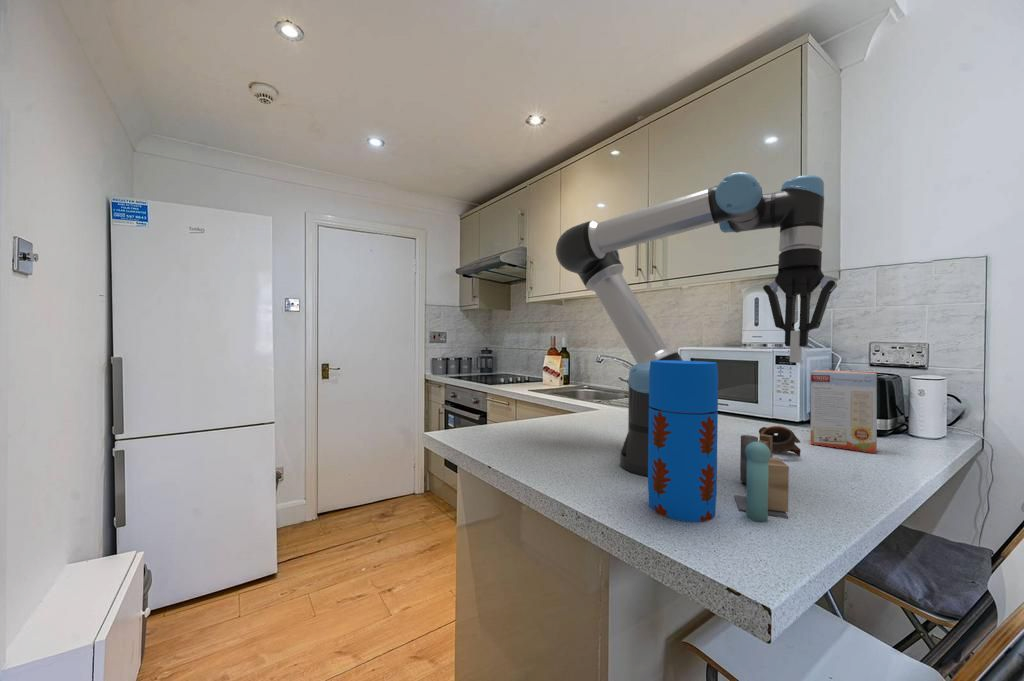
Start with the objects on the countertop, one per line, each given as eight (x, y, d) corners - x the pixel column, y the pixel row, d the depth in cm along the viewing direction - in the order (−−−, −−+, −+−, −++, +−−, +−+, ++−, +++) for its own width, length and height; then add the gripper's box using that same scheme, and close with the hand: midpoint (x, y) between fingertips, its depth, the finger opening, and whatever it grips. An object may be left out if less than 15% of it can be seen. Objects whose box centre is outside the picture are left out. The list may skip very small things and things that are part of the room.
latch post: (741, 517, 67) (742, 441, 67) (748, 510, 69) (749, 438, 69) (766, 524, 64) (767, 445, 64) (772, 517, 67) (773, 442, 67)
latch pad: (734, 496, 76) (734, 494, 76) (778, 502, 73) (778, 500, 73) (739, 510, 69) (739, 508, 69) (788, 518, 67) (788, 516, 67)
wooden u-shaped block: (733, 477, 85) (733, 434, 85) (760, 480, 83) (761, 436, 83) (753, 508, 69) (754, 454, 69) (788, 512, 68) (788, 457, 68)
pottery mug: (813, 461, 101) (807, 434, 98) (780, 478, 101) (773, 452, 98) (775, 437, 112) (769, 413, 110) (745, 452, 112) (738, 428, 110)
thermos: (685, 527, 63) (687, 364, 63) (634, 502, 72) (636, 360, 72) (730, 514, 68) (732, 363, 68) (677, 492, 77) (679, 359, 77)
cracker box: (876, 450, 110) (877, 372, 110) (876, 454, 106) (877, 373, 106) (812, 441, 120) (813, 369, 120) (809, 444, 115) (810, 370, 115)
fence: (747, 480, 85) (747, 441, 85) (761, 469, 92) (762, 434, 92) (758, 482, 84) (758, 443, 83) (772, 471, 90) (772, 435, 90)
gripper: (841, 251, 85) (837, 365, 84) (770, 259, 95) (765, 361, 94) (835, 242, 80) (830, 363, 79) (759, 251, 90) (754, 359, 88)
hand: (795, 362), depth 86 cm, fingers closed
